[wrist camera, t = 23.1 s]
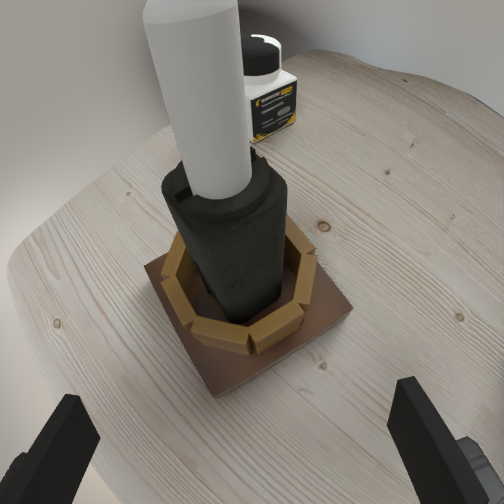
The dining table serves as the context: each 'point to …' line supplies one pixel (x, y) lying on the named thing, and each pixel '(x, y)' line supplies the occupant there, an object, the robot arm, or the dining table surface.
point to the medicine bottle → (266, 87)
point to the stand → (256, 329)
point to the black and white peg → (217, 156)
